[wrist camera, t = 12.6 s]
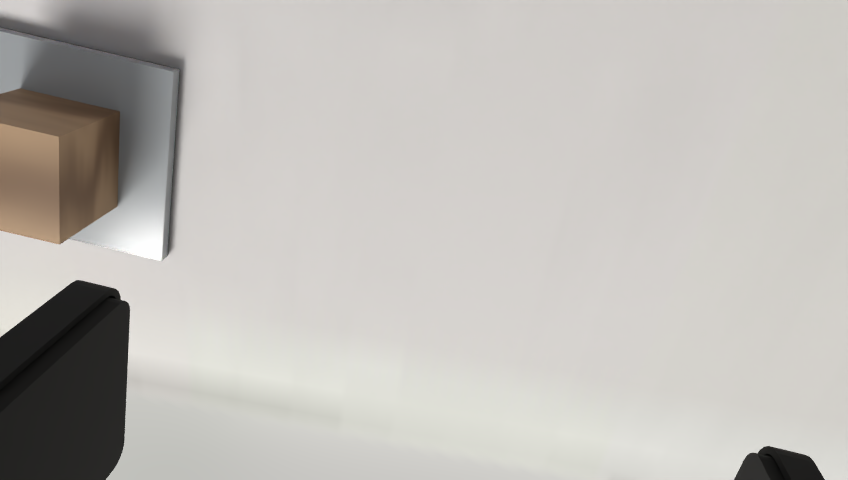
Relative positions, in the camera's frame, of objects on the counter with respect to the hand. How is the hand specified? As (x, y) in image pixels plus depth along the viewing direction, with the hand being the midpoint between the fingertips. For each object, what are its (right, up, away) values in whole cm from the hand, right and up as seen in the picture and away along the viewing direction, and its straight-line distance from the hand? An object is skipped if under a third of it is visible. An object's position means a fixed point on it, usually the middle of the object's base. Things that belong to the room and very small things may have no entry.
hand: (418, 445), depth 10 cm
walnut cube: (-21, +8, +31) cm, 38 cm away
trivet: (-21, +9, +32) cm, 39 cm away
